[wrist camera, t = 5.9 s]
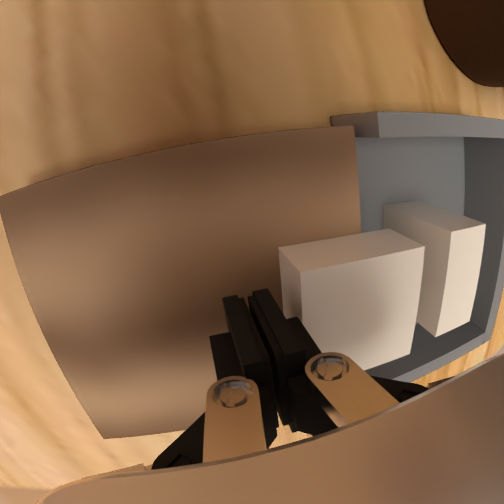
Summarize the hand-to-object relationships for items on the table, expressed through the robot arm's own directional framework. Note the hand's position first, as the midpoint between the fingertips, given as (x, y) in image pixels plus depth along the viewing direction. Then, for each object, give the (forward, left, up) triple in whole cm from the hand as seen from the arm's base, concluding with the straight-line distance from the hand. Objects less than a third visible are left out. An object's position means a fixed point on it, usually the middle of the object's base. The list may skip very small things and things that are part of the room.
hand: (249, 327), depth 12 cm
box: (0, +11, -4) cm, 12 cm away
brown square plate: (0, -2, -4) cm, 5 cm away
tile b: (0, +8, -1) cm, 8 cm away
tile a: (0, +4, -1) cm, 4 cm away
